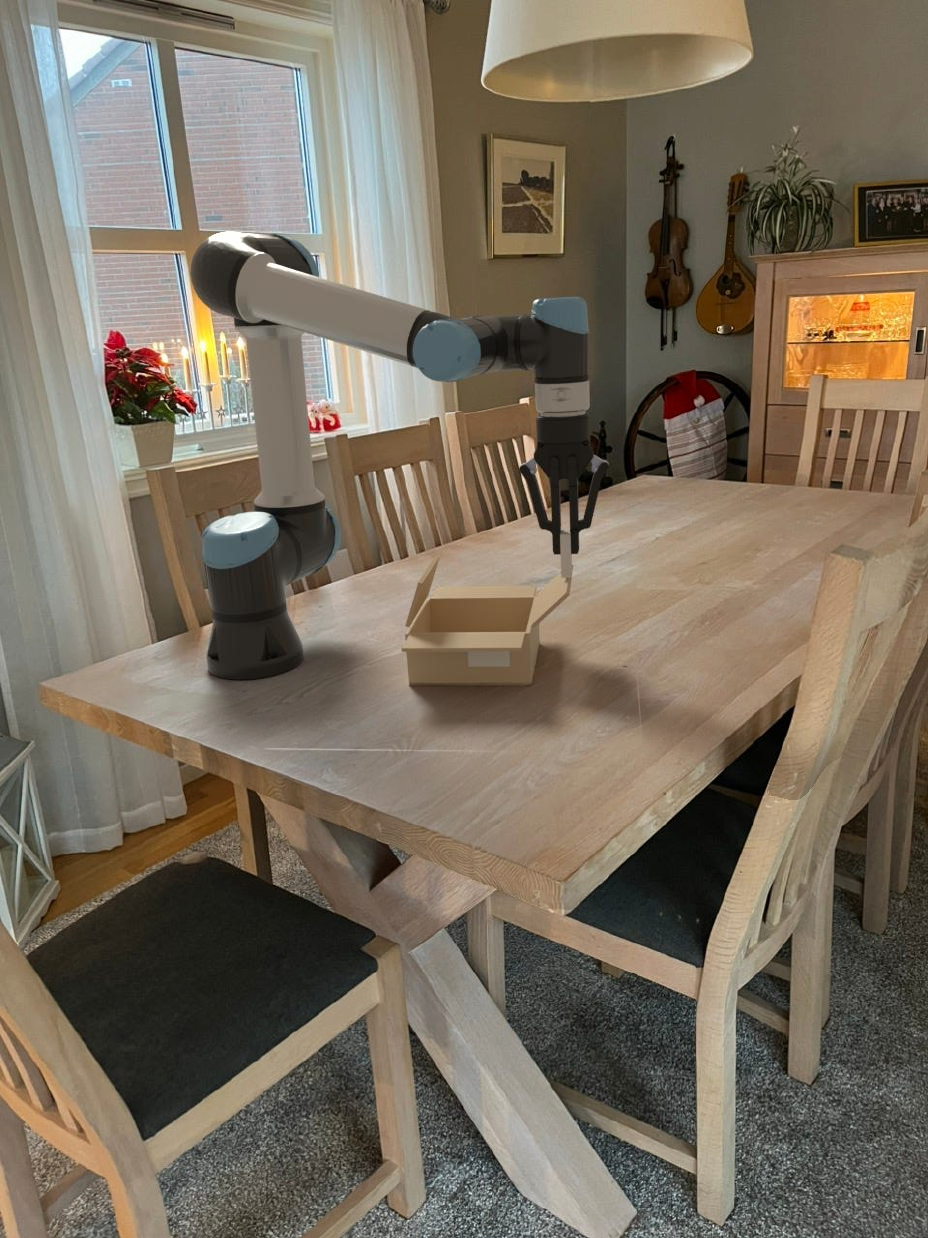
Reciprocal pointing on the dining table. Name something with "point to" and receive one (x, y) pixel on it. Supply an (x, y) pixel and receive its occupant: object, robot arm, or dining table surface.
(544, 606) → the flap
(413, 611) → the flap
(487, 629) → the carton
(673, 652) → the dining table surface
